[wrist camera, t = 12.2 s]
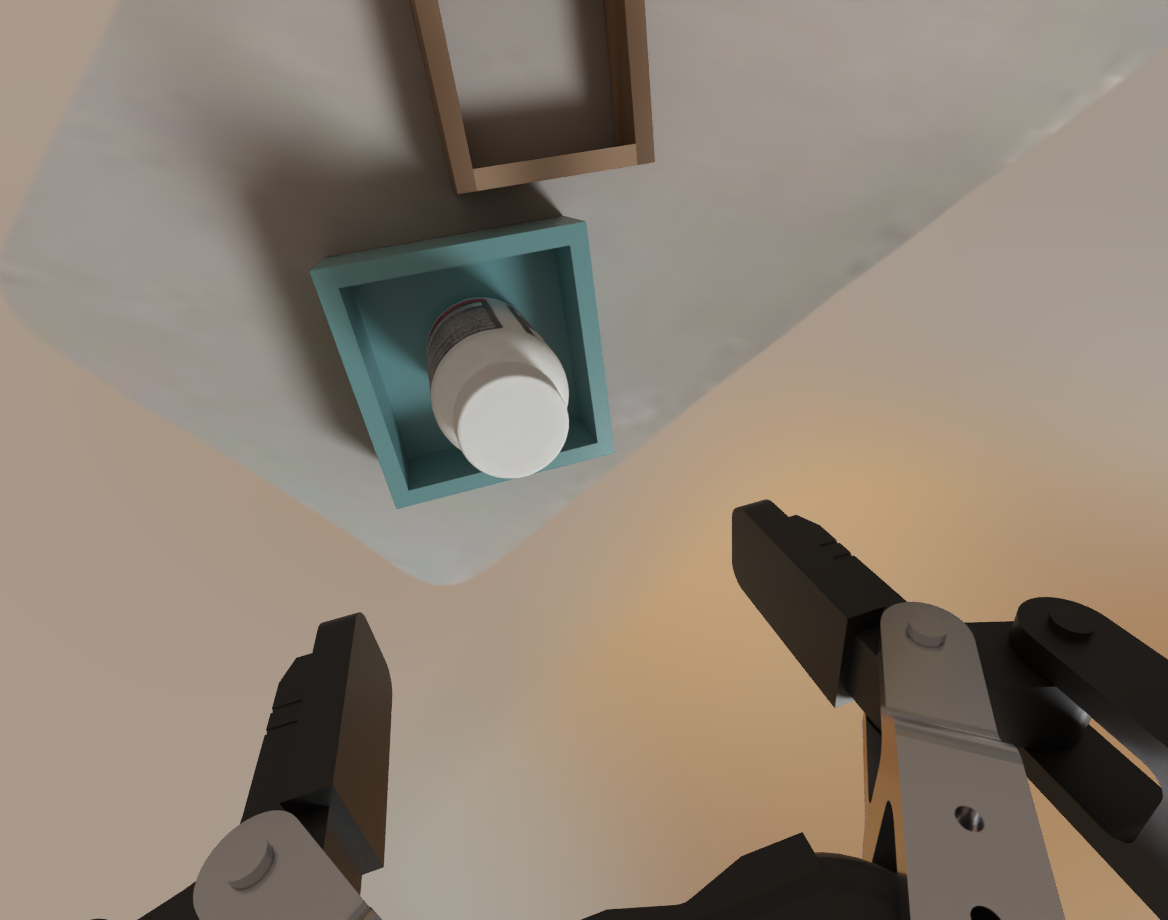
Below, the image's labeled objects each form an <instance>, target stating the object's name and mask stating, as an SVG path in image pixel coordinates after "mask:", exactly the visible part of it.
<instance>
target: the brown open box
mask: <svg viewBox="0 0 1168 920" xmlns="http://www.w3.org/2000/svg"><path fill="white" fill-rule="evenodd" d="M603 1H604V12H605V22H606V33H607V44H608V55H609V65H610V76H611V87H612V98H613V108H614V119H615V130H616V141H617V147H611V148H605V149H599V150H592V151H586V152H579V153H573V154H567V155H560V156H554V157H547V158H541V159H535V160H528V161H522V162H515V163H509V164H503V165H496V166H490V167H483V168H477V169H473V168H472V163H471V159H470V154H469V149H468V144H467V139H466V135H465V130H464V125H463V120H462V115H461V111H460V106H459V101H458V96H457V91H456V87H455V82H454V77H453V72H452V67H451V63H450V58H449V53H448V48H447V43H446V39H445V34H444V29H443V24H442V19H441V15H440V10H439V5H438V0H410V2H411V6H412V11H413V15H414V20H415V24H416V28H417V33H418V37H419V42H420V46H421V50H422V55H423V59H424V63H425V68H426V72H427V77H428V81H429V85H430V90H431V94H432V99H433V103H434V107H435V112H436V116H437V121H438V125H439V129H440V134H441V138H442V143H443V147H444V151H445V156H446V160H447V165H448V169H449V173H450V178H451V182H452V187H453V191H454V193H456V194H462V193H468V192H475V191H481V190H487V189H493V188H499V187H505V186H511V185H517V184H524V183H530V182H536V181H542V180H548V179H554V178H560V177H566V176H573V175H579V174H585V173H591V172H597V171H603V170H609V169H615V168H622V167H628V166H634V165H640V164H646V163H652V162H655V158H654V142H653V127H652V111H651V96H650V80H649V64H648V49H647V33H646V18H645V2H644V0H603Z"/></svg>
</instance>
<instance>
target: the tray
mask: <svg viewBox="0 0 1168 920" xmlns="http://www.w3.org/2000/svg"><path fill="white" fill-rule="evenodd" d="M309 272H310V275H311V277H312V280H313V283H314V285H315V288H316V291H317V294H318V296H319V299H320V302H321V305H322V307H323V310H324V313H325V315H326V318H327V321H328V324H329V326H330V329H331V332H332V335H333V337H334V340H335V343H336V345H337V348H338V351H339V354H340V356H341V359H342V362H343V365H344V367H345V370H346V373H347V375H348V378H349V381H350V384H351V386H352V389H353V392H354V395H355V397H356V400H357V403H358V405H359V408H360V411H361V414H362V416H363V419H364V422H365V425H366V427H367V430H368V433H369V435H370V438H371V441H372V444H373V446H374V449H375V452H376V455H377V457H378V460H379V463H380V465H381V468H382V471H383V474H384V476H385V479H386V482H387V485H388V487H389V490H390V493H391V495H392V498H393V501H394V504H395V506H396V509H399V508H403V507H407V506H411V505H415V504H418V503H422V502H426V501H430V500H434V499H438V498H442V497H446V496H449V495H453V494H457V493H461V492H465V491H469V490H473V489H477V488H481V487H484V486H488V485H492V484H496V483H500V482H504V481H508V480H512V479H515V478H499V477H494V476H491V475H488V474H486V473H484V472H482V471H480V470H479V469H477V468H476V467H474V466H473V465H472V464H471V463H470V462H469V461H468V460H467V458H466V457H465V456H464V454H463V452H462V451H461V450H460V449H458V448H457V447H456V446H455V445H453V444H452V443H451V442H450V441H449V440H448V439H447V437H446V436H445V435H444V433H443V432H442V431H441V429H440V427H439V425H438V423H437V421H436V418H435V415H434V413H433V410H432V405H431V397H430V384H429V377H428V370H427V359H426V345H427V339H428V334H429V331H430V329H431V327H432V325H433V324H434V322H435V321H436V319H437V318H438V316H439V315H440V314H441V313H442V312H443V311H445V310H446V309H447V308H448V307H450V306H451V305H453V304H455V303H457V302H459V301H461V300H464V299H467V298H473V297H488V298H493V299H497V300H500V301H503V302H505V303H507V304H509V305H511V306H512V307H514V308H515V309H516V310H517V311H519V312H520V313H521V314H522V315H523V316H524V317H525V319H526V320H527V321H528V322H529V323H530V324H531V325H532V327H533V328H534V329H535V330H536V332H537V333H538V334H539V335H540V336H541V338H542V339H543V340H544V341H545V343H546V344H547V345H548V346H549V347H550V348H551V350H552V351H553V352H554V353H555V355H556V356H557V357H558V359H559V361H560V363H561V365H562V367H563V369H564V372H565V374H566V378H567V382H568V388H569V400H568V406H567V412H568V417H569V429H568V434H567V438H566V441H565V443H564V445H563V447H562V449H561V451H560V452H559V454H558V455H557V456H556V457H555V459H554V460H553V461H552V462H551V463H549V464H548V465H547V466H546V467H544V468H543V469H541V470H539V471H537V472H535V473H539V472H543V471H546V470H550V469H554V468H558V467H562V466H566V465H570V464H574V463H578V462H581V461H585V460H589V459H593V458H597V457H601V456H605V455H609V454H612V453H615V452H614V444H613V436H612V428H611V420H610V412H609V404H608V396H607V388H606V380H605V372H604V363H603V355H602V347H601V339H600V331H599V323H598V315H597V307H596V299H595V291H594V283H593V275H592V267H591V259H590V251H589V243H588V235H587V227H586V221H582V220H578V219H574V218H570V217H566V216H560V217H554V218H548V219H543V220H537V221H531V222H526V223H520V224H514V225H509V226H503V227H497V228H492V229H486V230H480V231H474V232H469V233H463V234H457V235H452V236H446V237H440V238H435V239H429V240H423V241H418V242H412V243H406V244H401V245H395V246H389V247H384V248H378V249H372V250H367V251H361V252H355V253H349V254H344V255H338V256H332V257H327V258H323V259H322V260H321V261H320V262H319V263H318V264H317V265H315V266H314V267H313V268H312V269H311V270H310V271H309ZM535 473H533V474H535Z"/></svg>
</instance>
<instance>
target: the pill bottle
mask: <svg viewBox="0 0 1168 920" xmlns="http://www.w3.org/2000/svg"><path fill="white" fill-rule="evenodd" d="M426 359H427V370H428V377H429V384H430V397H431V405H432V410H433V413H434V415H435V418H436V421H437V423H438V425H439V427H440V429H441V431H442V432H443V433H444V435H445V436H446V437H447V439H448V440H449V441H450V442H451V443H452V444H453V445H455V446H456V447H457V448H458V449H460V450H461V451H462V452H463V454H464V456H465V457H466V458H467V460H468V461H469V462H470V463H471V464H472V465H473V466H474V467H476V468H477V469H479V470H480V471H482V472H484V473H486V474H488V475H491V476H494V477H499V478H519V477H524V476H528V475H531V474H533V473H535V472H537V471H539V470H541V469H543V468H544V467H546V466H547V465H548V464H549V463H551V462H552V461H553V460H554V459H555V457H556V456H557V455H558V454H559V452H560V451H561V449H562V447H563V445H564V443H565V441H566V438H567V434H568V429H569V417H568V412H567V406H568V400H569V388H568V382H567V378H566V374H565V372H564V369H563V367H562V365H561V363H560V361H559V359H558V357H557V356H556V355H555V353H554V352H553V351H552V350H551V348H550V347H549V346H548V345H547V344H546V343H545V341H544V340H543V339H542V338H541V336H540V335H539V334H538V333H537V332H536V330H535V329H534V328H533V327H532V325H531V324H530V323H529V322H528V321H527V320H526V319H525V317H524V316H523V315H522V314H521V313H520V312H519V311H517V310H516V309H515V308H514V307H512V306H511V305H509V304H507V303H505V302H503V301H500V300H497V299H493V298H488V297H473V298H467V299H464V300H461V301H459V302H457V303H455V304H453V305H451V306H450V307H448V308H447V309H446V310H445V311H443V312H442V313H441V314H440V315H439V316H438V318H437V319H436V321H435V322H434V324H433V325H432V327H431V329H430V331H429V334H428V339H427V345H426Z"/></svg>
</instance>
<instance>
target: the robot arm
mask: <svg viewBox="0 0 1168 920" xmlns="http://www.w3.org/2000/svg"><path fill="white" fill-rule="evenodd" d="M732 565H733V570H734V574H735V576H736V579H737V581H738V583H739V585H740V587H741V588H742V590H743V591H744V592H745V594H746V595H747V596H748V598H749V599H750V600H751V601H752V603H753V604H754V605H755V607H756V608H757V609H758V610H759V612H760V613H761V614H762V615H763V617H764V618H765V619H766V621H767V622H768V623H769V624H770V626H771V627H772V628H773V629H774V631H775V632H776V633H777V635H778V636H779V637H780V639H781V640H782V641H783V642H784V644H785V645H786V646H787V647H788V649H789V650H790V651H791V653H792V654H793V655H794V656H795V658H796V659H797V660H798V662H799V663H800V664H801V665H802V667H803V668H804V669H805V671H806V672H807V673H808V674H809V676H810V677H811V678H812V680H813V681H814V682H815V683H816V685H817V686H818V687H819V688H820V690H821V691H822V692H823V694H824V695H825V696H826V697H827V699H828V700H829V701H830V703H831V704H832V705H833V706H834V708H836V707H839V706H842V705H845V704H848V703H851V702H853V701H856V703H857V704H858V705H859V706H860V708H861V709H862V710H863V711H864V713H863V720H862V728H863V763H864V802H865V823H864V836H863V850H862V859H860V858H856V857H852V856H847V855H843V854H836V853H824V852H817V853H814V851H813V849H812V848H811V846H810V844H809V843H808V841H807V839H806V838H805V836H804V834H803V833H799V834H797V835H794V836H792V837H789V838H787V839H784V840H782V841H779V842H776V843H774V844H771V845H769V846H766V847H764V848H761V849H759V850H756V851H754V852H751V853H749V854H746V855H744V856H741V857H740V858H739V859H738V860H737V861H735V862H734V863H733V864H732V865H730V866H729V867H728V868H727V869H726V870H725V871H723V872H722V873H721V874H720V875H718V876H717V877H716V878H715V879H714V880H713V881H711V882H710V883H709V884H708V885H706V886H705V887H704V888H703V889H702V890H701V891H699V892H698V893H697V894H696V895H695V896H693V897H692V898H691V899H690V900H688V901H687V902H685V903H682V904H679V905H669V906H655V907H639V908H625V909H610V910H605V911H602V912H600V913H597V914H594V915H592V916H590V917H587V918H584V919H582V920H1065V917H1064V913H1063V909H1062V906H1061V902H1060V898H1059V895H1058V891H1057V887H1056V884H1055V880H1054V876H1053V873H1052V869H1051V865H1050V861H1049V858H1048V854H1047V850H1046V847H1045V843H1044V839H1043V836H1042V832H1041V828H1040V824H1039V821H1038V817H1037V813H1036V810H1035V806H1034V802H1033V799H1032V795H1031V791H1030V788H1029V784H1028V780H1027V778H1028V779H1029V780H1030V781H1031V782H1032V783H1033V784H1034V785H1035V786H1036V787H1037V788H1038V789H1039V790H1040V792H1041V793H1042V794H1043V795H1044V796H1045V797H1046V798H1047V799H1048V800H1049V801H1050V802H1051V803H1052V804H1053V805H1054V807H1055V808H1056V809H1058V811H1059V812H1060V813H1061V814H1062V815H1063V816H1064V817H1065V818H1066V819H1067V820H1068V821H1069V822H1070V823H1071V825H1072V826H1073V827H1074V828H1075V829H1076V830H1077V831H1078V832H1079V833H1080V834H1081V835H1082V836H1083V837H1084V839H1085V840H1086V841H1087V842H1088V843H1089V844H1090V845H1091V846H1092V847H1093V848H1094V849H1095V850H1096V851H1097V852H1098V854H1099V855H1100V856H1101V857H1102V858H1103V859H1104V860H1105V861H1106V862H1107V863H1108V864H1109V865H1110V866H1111V867H1112V868H1113V870H1114V871H1115V872H1116V873H1117V874H1118V875H1119V876H1120V877H1121V878H1122V879H1123V880H1124V881H1125V882H1126V883H1127V884H1128V886H1129V887H1130V888H1131V889H1132V890H1133V891H1134V892H1135V893H1136V894H1137V895H1138V896H1139V897H1140V898H1141V899H1142V901H1143V902H1144V903H1145V904H1146V905H1147V906H1148V907H1149V908H1150V909H1151V910H1152V911H1153V912H1154V913H1155V914H1156V915H1157V916H1158V918H1159V919H1160V920H1168V659H1166V658H1165V657H1163V656H1162V655H1160V654H1159V653H1157V652H1156V651H1155V650H1153V649H1152V648H1150V647H1149V646H1147V645H1146V644H1144V643H1143V642H1141V641H1140V640H1139V639H1137V638H1136V637H1134V636H1133V635H1131V634H1130V633H1128V632H1127V631H1126V630H1124V629H1123V628H1121V627H1120V626H1118V625H1117V624H1115V623H1114V622H1113V621H1111V620H1110V619H1108V618H1107V617H1105V616H1104V615H1102V614H1100V613H1099V612H1097V611H1095V610H1093V609H1091V608H1089V607H1087V606H1084V605H1082V604H1079V603H1076V602H1073V601H1069V600H1065V599H1060V598H1053V597H1038V598H1033V599H1029V600H1027V601H1025V602H1023V603H1022V604H1021V605H1020V606H1019V608H1018V611H1017V614H1016V617H1015V620H1014V621H1009V622H1008V621H1007V622H974V623H964V622H963V621H961V620H960V619H959V618H958V617H956V616H955V615H953V614H951V613H950V612H948V611H946V610H944V609H942V608H939V607H937V606H933V605H930V604H925V603H920V602H907V601H906V600H904V599H903V598H902V597H901V596H900V595H899V594H898V593H896V592H895V591H894V590H893V589H891V587H890V586H888V585H887V584H886V583H885V582H884V581H883V580H881V579H880V578H879V577H878V576H877V575H876V574H875V573H873V572H872V571H871V570H870V569H869V568H868V567H867V566H865V565H864V564H863V563H862V562H861V561H860V560H859V559H857V558H856V557H855V556H851V553H850V552H849V551H848V550H847V549H846V548H845V547H844V546H843V545H841V544H840V543H837V541H836V539H835V538H833V537H832V536H831V535H830V534H829V533H828V532H827V531H825V530H824V529H823V528H822V527H821V526H820V525H818V524H816V523H813V522H811V521H809V520H807V519H804V518H802V517H800V516H798V515H794V516H791V517H788V516H787V515H786V514H784V512H783V511H781V510H780V509H779V508H778V507H777V506H776V505H775V504H774V503H772V502H771V501H770V500H762V501H759V502H755V503H752V504H748V505H745V506H741V507H737V508H735V509H734V510H733V514H732ZM272 709H273V713H271V714H270V718H269V722H268V725H267V729H266V730H267V735H265V737H264V740H263V744H262V747H261V751H260V754H259V758H258V762H257V765H256V769H255V773H254V776H253V780H252V784H251V788H250V791H249V795H248V799H247V802H246V806H245V810H244V813H243V817H242V819H241V822H240V825H238V826H237V827H236V828H235V829H233V830H232V831H231V832H229V833H228V834H227V835H226V836H225V837H224V838H223V839H222V840H221V841H220V843H219V844H218V845H217V846H216V847H215V848H214V849H213V851H212V852H211V854H210V855H209V856H208V858H207V859H206V861H205V863H204V865H203V866H202V868H201V870H200V872H199V875H198V877H197V880H196V882H194V883H193V884H192V885H190V886H189V887H187V888H186V889H185V890H183V891H182V892H180V893H178V894H177V895H175V896H174V897H172V898H171V899H169V900H168V901H166V902H165V903H163V904H161V905H160V906H158V907H157V908H155V909H154V910H152V911H151V912H149V913H147V914H146V915H144V916H143V917H141V918H140V919H138V920H382V919H381V918H380V917H379V916H378V915H377V914H376V912H375V911H374V910H373V909H372V908H371V907H369V906H368V905H367V904H366V903H365V901H364V900H363V899H362V898H361V896H360V891H361V879H362V875H363V874H366V873H369V872H371V871H374V870H377V869H380V868H382V867H384V850H385V829H386V811H387V791H388V769H389V750H390V729H391V710H392V685H391V678H390V674H389V670H388V666H387V664H386V661H385V659H384V657H383V655H382V653H381V650H380V648H379V646H378V644H377V642H376V640H375V637H374V635H373V633H372V631H371V628H370V626H369V624H368V622H367V620H366V618H365V616H364V615H363V614H362V613H361V612H359V613H355V614H352V615H348V616H345V617H341V618H337V619H334V620H330V621H327V622H323V623H321V624H320V625H319V627H318V631H317V635H316V640H315V644H314V648H313V653H312V654H308V655H305V656H301V657H298V658H296V659H295V661H294V662H293V664H292V665H291V667H290V668H289V669H288V671H287V672H286V674H285V675H284V677H283V678H282V679H281V681H280V682H279V685H278V689H277V692H276V696H275V699H274V703H273V707H272ZM1091 718H1093V719H1094V720H1095V721H1096V722H1097V723H1098V724H1100V725H1101V726H1102V727H1103V728H1104V729H1105V730H1106V731H1108V732H1109V733H1110V734H1111V735H1112V736H1114V737H1115V738H1116V739H1117V740H1118V741H1119V742H1120V743H1121V744H1123V745H1124V746H1125V747H1126V748H1127V749H1128V750H1130V751H1131V752H1132V753H1133V754H1134V755H1135V756H1137V757H1138V758H1139V759H1140V760H1141V761H1142V762H1143V763H1144V764H1145V765H1147V767H1148V768H1149V769H1150V770H1151V771H1152V772H1153V774H1154V775H1155V776H1156V778H1157V780H1158V782H1159V784H1160V786H1161V787H1159V786H1158V785H1157V784H1156V783H1155V782H1154V781H1153V780H1151V779H1150V778H1149V777H1148V776H1147V775H1146V774H1145V773H1144V772H1142V771H1141V770H1140V769H1139V768H1138V767H1137V766H1136V765H1134V764H1133V763H1132V762H1131V761H1130V760H1129V759H1128V758H1127V757H1125V756H1124V755H1123V754H1122V753H1121V752H1120V751H1119V750H1117V749H1116V748H1115V747H1114V746H1113V745H1112V744H1110V743H1109V742H1108V741H1107V740H1106V739H1105V738H1104V737H1103V736H1102V735H1100V734H1099V733H1098V732H1097V731H1096V730H1095V729H1094V728H1092V727H1091V726H1090V725H1089V722H1090V720H1091ZM93 920H106V919H93Z"/></svg>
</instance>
